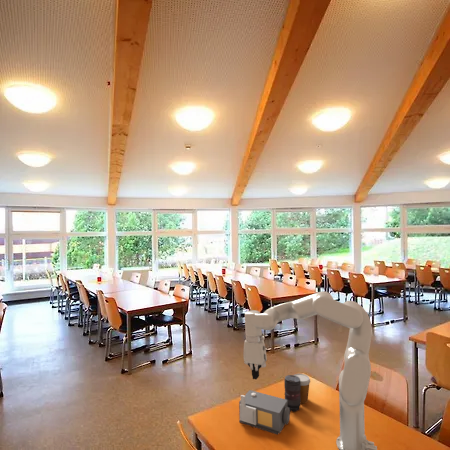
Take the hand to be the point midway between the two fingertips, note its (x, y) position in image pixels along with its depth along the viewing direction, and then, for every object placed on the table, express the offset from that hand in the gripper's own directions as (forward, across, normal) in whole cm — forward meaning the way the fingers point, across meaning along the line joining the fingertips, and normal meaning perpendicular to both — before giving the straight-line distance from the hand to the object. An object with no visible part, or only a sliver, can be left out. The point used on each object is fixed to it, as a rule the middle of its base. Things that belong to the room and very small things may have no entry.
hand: (255, 378), depth 141 cm
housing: (+23, 0, -7) cm, 24 cm away
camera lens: (+23, -10, -23) cm, 34 cm away
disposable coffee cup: (+23, -12, -32) cm, 41 cm away
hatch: (+21, +5, 0) cm, 22 cm away
